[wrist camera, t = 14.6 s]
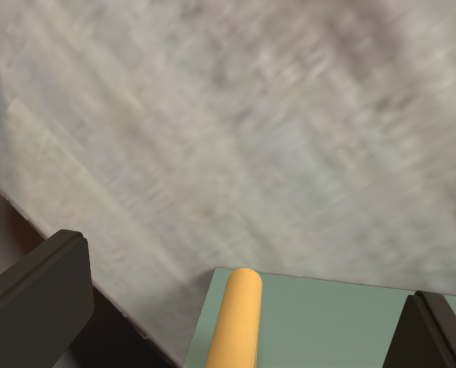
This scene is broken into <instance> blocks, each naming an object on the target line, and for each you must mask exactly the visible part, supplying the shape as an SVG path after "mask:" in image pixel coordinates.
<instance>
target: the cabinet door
mask: <svg viewBox="0 0 456 368" xmlns="http://www.w3.org/2000/svg"><path fill="white" fill-rule="evenodd" d="M415 292H416V291H409V290H401V289H393V288H384V287H376V286H368V285H359V284H351V283H343V282H334V281H326V280H318V279H309V278H301V277H293V276H284V275H276V274H268V273H259V272H255V271H253V270H251V269H248V268H238V269H236V270H234V269H226V268H218V267H216V268H215V271H214V274H213V277H212V280H211V283H210V286H209V289H208V292H207V295H206V298H205V301H204V304H203V307H202V310H201V313H200V316H199V319H198V322H197V325H196V328H195V331H194V334H193V337H192V340H191V343H190V346H189V349H188V352H187V356H186V359H185V362H184V365H183V368H382V366H383V363H384V360H385V357H386V354H387V352H388V349H389V346H390V343H391V340H392V337H393V335H394V332H395V329H396V326H397V323H398V321H399V318H400V315H401V312H402V309H403V306H404V304H405V301H406V298H407V296H408V295H414V293H415ZM441 295H443V294H441ZM443 296H444V297H445V298H446V300H447V302H448V303H449V305H450V306H451V308H452V310H453V311H454V313H455V315H456V296H451V295H443Z"/></svg>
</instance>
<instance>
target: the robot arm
mask: <svg viewBox="0 0 456 368" xmlns="http://www.w3.org/2000/svg"><path fill="white" fill-rule="evenodd" d="M93 311H94V299H93V289H92V280H91V270H90V260H89V250H88V242H87V239H86V238H84V237H83V234H82V233H81V232H77V231H71V230H65V229H61V230H59V231H58V232H56V233H55V234H54V235H52V236H51V237H50V238H48V239H47V240H46V241H44V242H43V243H42V244H40V245H39V246H38V247H36V248H35V249H34V250H33V251H31V252H30V253H28V254H27V255H26V256H24V257H23V258H22V259H20V260H19V261H18V262H17V263H15V264H14V265H12V266H11V267H10V268H9V269H7V270H6V271H4V272H3V273H2V274H1V275H0V368H52V367H53V366H54V364H55V363H56V362H57V360H58V359H59V358H60V357H61V355H62V354H63V353H64V352H65V350H66V349H67V348H68V346H69V345H70V344H71V342H72V341H73V340H74V339H75V337H76V336H77V335H78V333H79V332H80V331H81V329H82V328H83V327H84V326H85V324H86V323H87V322H88V320H89V319H90V318H91V316H92V314H93ZM382 368H456V315H455V313H454V311H453V310H452V308H451V306H450V305H449V303H448V302H447V300H446V298H445V297H444V296H443V295H441V294H437V293H431V292H425V291H416V292H415V293H414V295H408V296H407V298H406V301H405V304H404V306H403V309H402V312H401V315H400V318H399V321H398V323H397V326H396V329H395V332H394V335H393V337H392V340H391V343H390V346H389V349H388V352H387V354H386V357H385V360H384V363H383V366H382Z"/></svg>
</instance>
